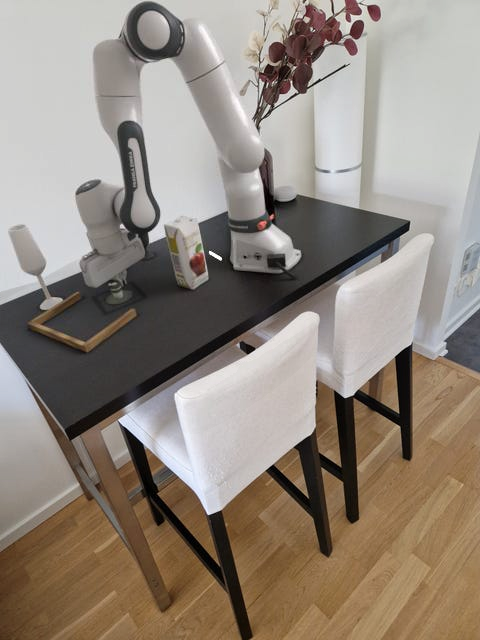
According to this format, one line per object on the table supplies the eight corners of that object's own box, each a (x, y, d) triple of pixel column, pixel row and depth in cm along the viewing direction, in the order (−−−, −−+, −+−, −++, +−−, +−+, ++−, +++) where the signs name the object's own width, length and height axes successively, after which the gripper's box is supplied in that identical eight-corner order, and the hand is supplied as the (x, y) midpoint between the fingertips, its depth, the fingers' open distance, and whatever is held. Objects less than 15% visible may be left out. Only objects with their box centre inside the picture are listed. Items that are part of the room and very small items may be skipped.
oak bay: (137, 315, 115) (135, 309, 114) (87, 352, 104) (84, 346, 103) (79, 297, 128) (77, 291, 127) (29, 328, 117) (26, 323, 116)
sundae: (147, 250, 149) (135, 209, 140) (160, 254, 145) (149, 211, 137) (133, 259, 145) (120, 217, 136) (147, 262, 141) (134, 219, 133)
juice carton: (174, 286, 126) (159, 225, 115) (194, 273, 131) (182, 213, 120) (192, 292, 121) (178, 229, 111) (212, 278, 126) (201, 217, 116)
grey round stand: (145, 297, 122) (140, 282, 120) (105, 314, 118) (99, 298, 115) (130, 282, 131) (126, 268, 128) (93, 297, 127) (87, 282, 124)
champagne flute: (62, 295, 130) (30, 220, 117) (63, 305, 125) (29, 228, 111) (39, 301, 129) (4, 226, 115) (39, 312, 123) (2, 235, 110)
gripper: (85, 261, 109) (102, 306, 117) (141, 228, 122) (153, 270, 130) (69, 257, 112) (88, 301, 120) (126, 225, 125) (139, 267, 133)
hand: (122, 285), depth 125 cm, fingers closed
